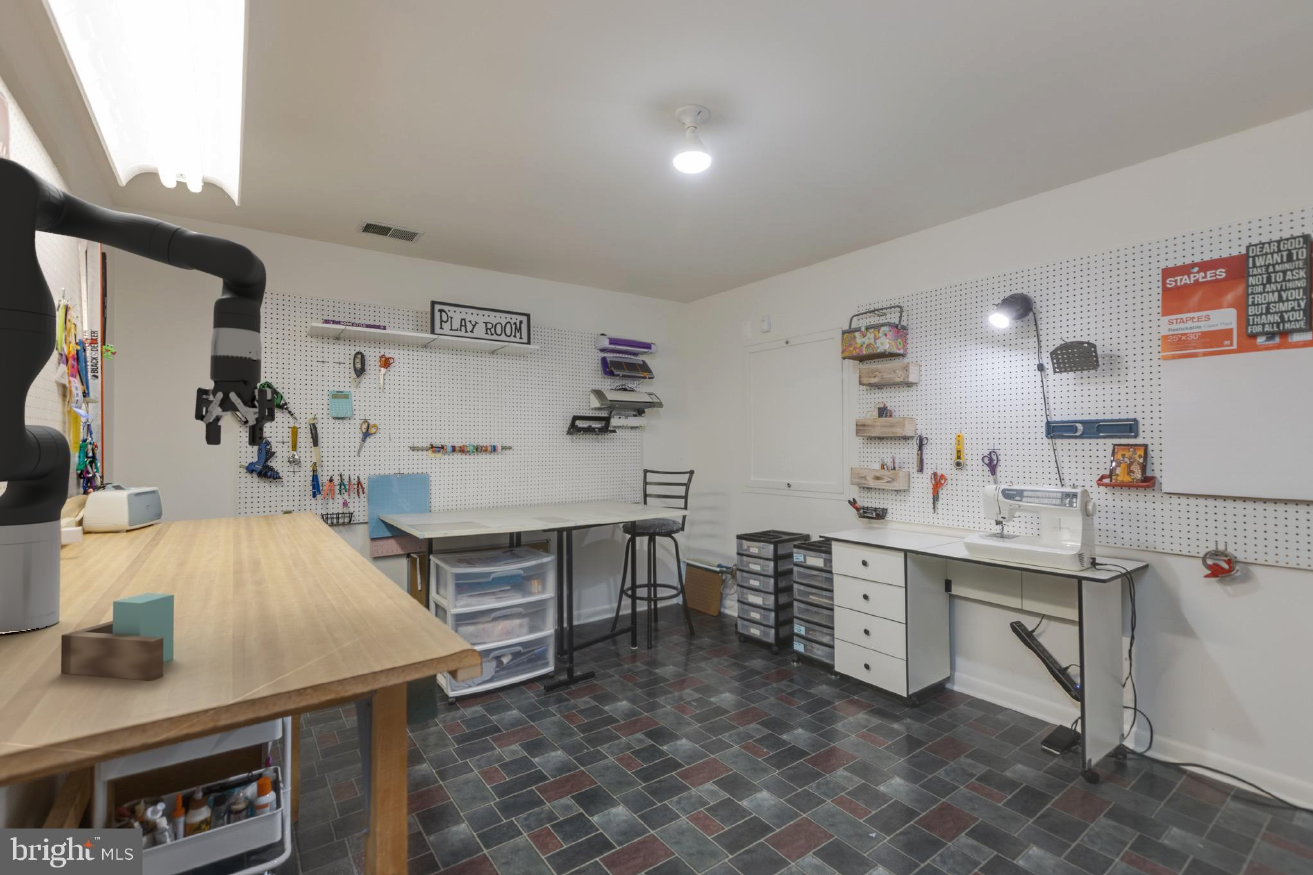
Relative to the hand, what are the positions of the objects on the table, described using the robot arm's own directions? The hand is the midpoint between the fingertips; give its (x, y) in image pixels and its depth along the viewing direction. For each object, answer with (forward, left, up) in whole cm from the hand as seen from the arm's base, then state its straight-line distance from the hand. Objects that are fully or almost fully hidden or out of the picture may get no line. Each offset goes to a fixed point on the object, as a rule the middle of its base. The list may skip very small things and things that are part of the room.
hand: (234, 445), depth 106 cm
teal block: (+10, -24, -30) cm, 40 cm away
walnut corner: (+10, -24, -30) cm, 40 cm away
